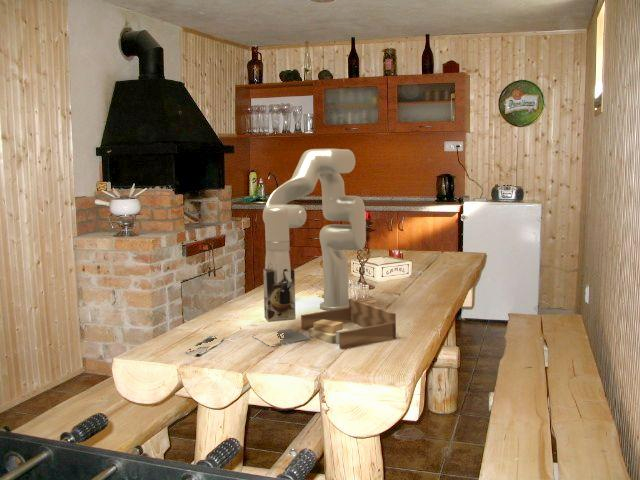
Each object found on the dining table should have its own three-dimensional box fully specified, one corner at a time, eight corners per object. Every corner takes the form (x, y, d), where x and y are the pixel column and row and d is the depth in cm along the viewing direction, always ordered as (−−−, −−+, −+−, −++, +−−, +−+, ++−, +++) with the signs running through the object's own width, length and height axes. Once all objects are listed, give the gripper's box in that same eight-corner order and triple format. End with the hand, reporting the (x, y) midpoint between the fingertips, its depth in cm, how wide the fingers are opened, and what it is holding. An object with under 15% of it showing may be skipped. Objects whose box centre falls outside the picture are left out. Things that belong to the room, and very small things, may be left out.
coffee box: (268, 322, 204) (266, 271, 202) (264, 317, 210) (262, 268, 208) (296, 320, 206) (294, 269, 204) (291, 315, 212) (290, 266, 210)
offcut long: (309, 337, 211) (309, 328, 210) (324, 333, 214) (323, 324, 214) (332, 345, 201) (332, 336, 201) (347, 341, 205) (347, 332, 204)
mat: (252, 336, 212) (252, 335, 212) (290, 329, 218) (290, 328, 218) (270, 347, 199) (270, 345, 199) (310, 339, 206) (310, 338, 206)
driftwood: (212, 337, 213) (212, 331, 213) (231, 339, 211) (231, 332, 211) (179, 357, 194) (179, 351, 194) (200, 359, 192) (199, 352, 192)
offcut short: (313, 330, 208) (313, 322, 208) (322, 326, 212) (322, 319, 212) (333, 333, 203) (333, 326, 203) (343, 330, 207) (342, 322, 207)
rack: (301, 329, 218) (300, 306, 217) (352, 320, 228) (351, 298, 226) (341, 349, 195) (340, 323, 194) (395, 338, 205) (395, 313, 204)
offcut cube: (336, 344, 201) (335, 331, 201) (344, 341, 204) (344, 328, 203) (345, 346, 198) (345, 333, 198) (354, 343, 201) (354, 330, 201)
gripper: (255, 244, 211) (257, 298, 213) (278, 250, 196) (280, 308, 198) (276, 242, 214) (278, 295, 217) (301, 248, 199) (302, 305, 201)
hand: (279, 301), depth 207 cm, fingers closed on coffee box, 7 cm apart
